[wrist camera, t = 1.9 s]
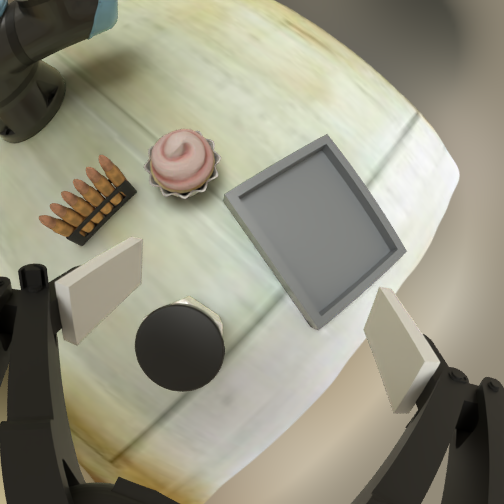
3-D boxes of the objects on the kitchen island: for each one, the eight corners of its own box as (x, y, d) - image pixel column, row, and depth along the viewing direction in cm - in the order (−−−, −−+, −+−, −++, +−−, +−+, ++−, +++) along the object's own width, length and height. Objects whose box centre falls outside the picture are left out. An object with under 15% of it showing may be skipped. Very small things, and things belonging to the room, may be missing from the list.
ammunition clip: (82, 246, 35) (37, 230, 24) (74, 236, 35) (29, 217, 24) (137, 191, 37) (111, 154, 26) (129, 182, 37) (102, 144, 25)
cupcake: (176, 223, 38) (165, 202, 28) (139, 171, 38) (120, 137, 28) (233, 183, 39) (241, 150, 30) (194, 134, 39) (192, 93, 30)
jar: (172, 372, 35) (158, 406, 23) (143, 316, 36) (115, 329, 24) (233, 343, 37) (245, 368, 25) (204, 286, 37) (203, 286, 25)
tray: (223, 200, 39) (224, 194, 36) (319, 142, 42) (327, 133, 39) (310, 326, 39) (318, 329, 36) (395, 253, 42) (406, 251, 39)
